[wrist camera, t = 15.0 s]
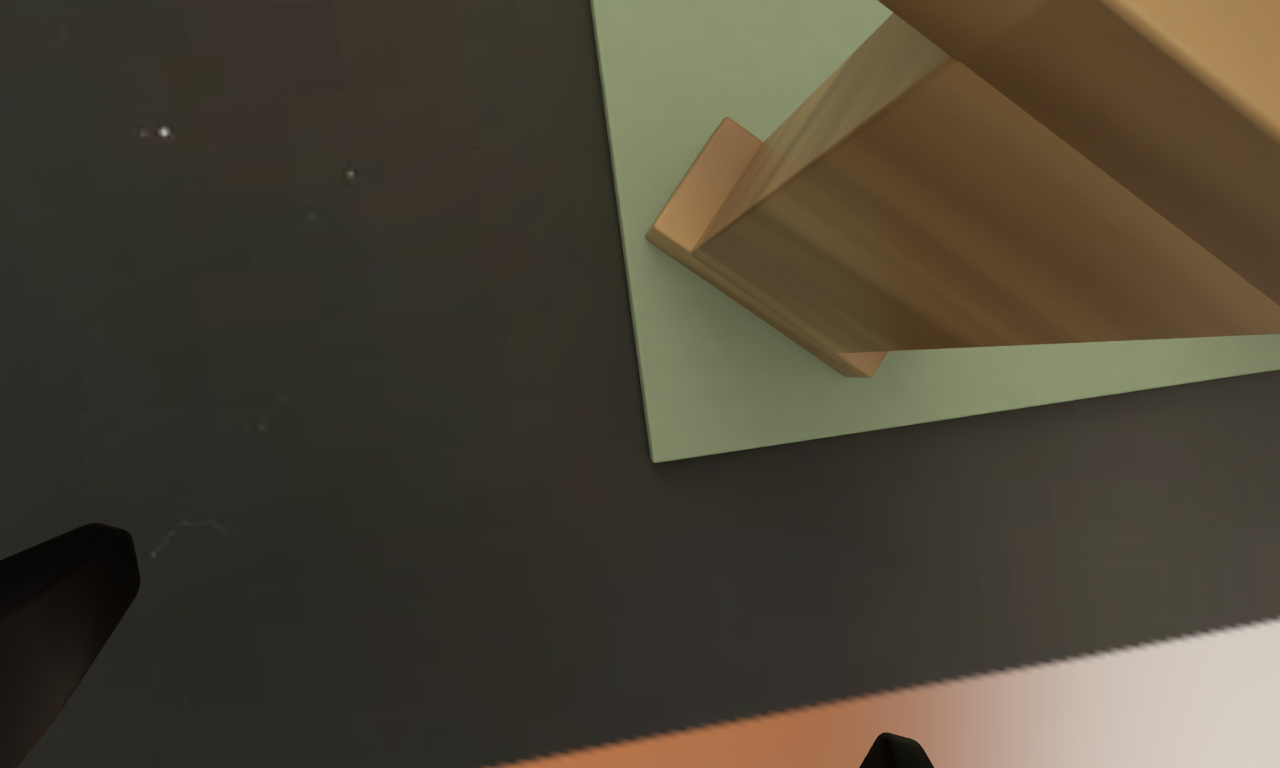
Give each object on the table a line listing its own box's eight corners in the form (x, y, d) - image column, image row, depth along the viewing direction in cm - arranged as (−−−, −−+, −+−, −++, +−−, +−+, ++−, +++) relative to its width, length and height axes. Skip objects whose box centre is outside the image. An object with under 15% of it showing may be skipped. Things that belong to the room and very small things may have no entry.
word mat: (1429, 344, 22) (1450, 344, 22) (650, 461, 19) (653, 463, 19) (1385, -132, 22) (1405, -144, 21) (578, -81, 19) (579, -93, 18)
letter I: (846, 378, 19) (1622, 408, 6) (642, 238, 19) (946, -135, 5) (911, 276, 20) (1826, 55, 6) (712, 133, 19) (1199, -519, 5)
